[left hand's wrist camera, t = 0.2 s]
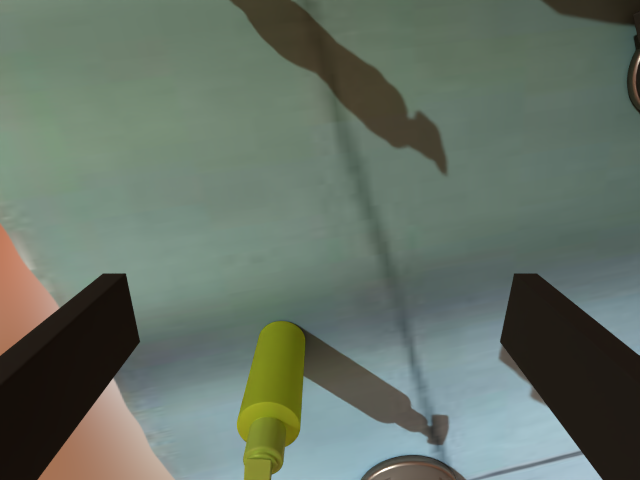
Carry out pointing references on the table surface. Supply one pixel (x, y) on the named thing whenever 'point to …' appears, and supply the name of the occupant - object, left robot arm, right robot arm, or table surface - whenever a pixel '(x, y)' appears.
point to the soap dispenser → (272, 399)
